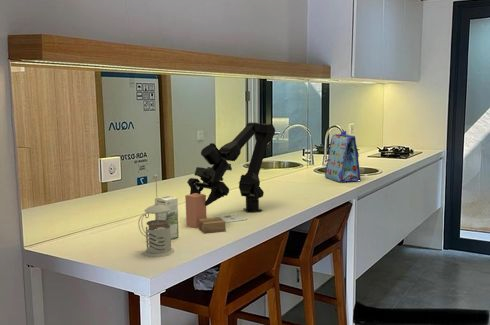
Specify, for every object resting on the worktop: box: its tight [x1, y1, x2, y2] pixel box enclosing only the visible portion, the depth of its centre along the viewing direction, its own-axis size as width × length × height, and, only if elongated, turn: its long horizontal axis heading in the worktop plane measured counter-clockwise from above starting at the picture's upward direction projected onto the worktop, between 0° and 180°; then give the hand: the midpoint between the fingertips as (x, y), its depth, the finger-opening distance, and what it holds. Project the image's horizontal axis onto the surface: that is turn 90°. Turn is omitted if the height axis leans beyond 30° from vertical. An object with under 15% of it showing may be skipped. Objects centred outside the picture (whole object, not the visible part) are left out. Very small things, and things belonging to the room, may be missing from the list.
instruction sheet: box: [213, 213, 248, 224], centre depth 204 cm, size 12×9×1 cm
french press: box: [138, 174, 176, 258], centre depth 159 cm, size 10×12×25 cm
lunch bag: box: [324, 130, 362, 183], centre depth 294 cm, size 22×14×29 cm, turn 15°
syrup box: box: [154, 195, 179, 240], centre depth 176 cm, size 6×6×14 cm
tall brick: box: [184, 193, 208, 229], centre depth 193 cm, size 6×6×12 cm
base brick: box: [198, 217, 227, 234], centre depth 186 cm, size 8×8×4 cm
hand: (197, 203), depth 193 cm, fingers open, 9 cm apart
